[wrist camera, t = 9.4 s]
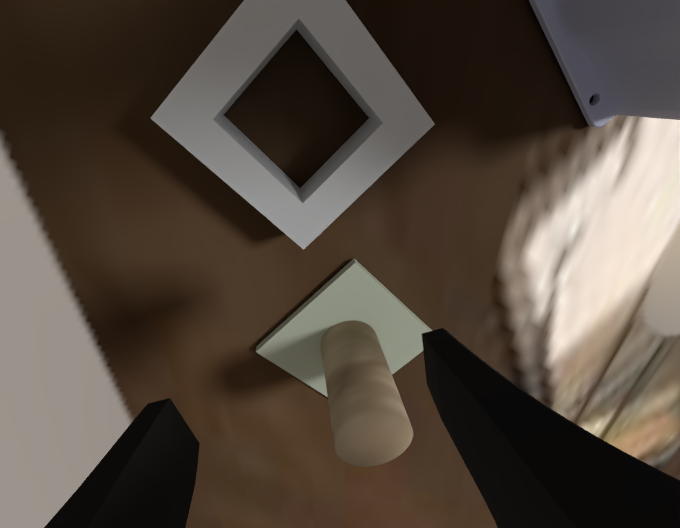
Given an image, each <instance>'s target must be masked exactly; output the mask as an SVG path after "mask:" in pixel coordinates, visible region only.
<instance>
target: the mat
mask: <svg viewBox="0 0 680 528" xmlns="http://www.w3.org/2000/svg"><path fill="white" fill-rule="evenodd" d="M351 320H355V321H361V322H364V323H366V324H368V325H370V326H371V327H372V328H373V329H374V331H375V332H376V335H377V337H378V340H379V343H380V345H381V348H382V351H383V353H384V356H385V358H386V361H387V364H388V366H389V369H390V371H391V374H394V373H395V372H396V371H397V370H399V369H400V368H401V367H403V366H404V365H405V364H406V363H408V362H409V361H410V360H412V359H413V358H414V357H415V356H417V355H418V354H419V353H421V352H422V351H423V342H422V333H426V332H430V331H432V330H431V329H430V328H429V327H428V326H427V325H426V324H425V323H424V322H422V321H421V320H420V319H419V318H418V317H417V316H416V315H415V314H414V313H413V312H412V311H411V310H409V309H408V308H407V307H406V306H405V305H404V304H403V303H402V302H401V301H400V300H399V299H398V298H396V297H395V296H394V295H393V294H392V293H391V292H390V291H389V290H388V289H387V288H386V287H384V286H383V285H382V284H381V283H380V282H379V281H378V280H377V279H376V278H375V277H374V276H373V275H371V274H370V273H369V272H368V271H367V270H366V269H365V268H364V267H363V266H362V265H361V264H360V263H358V262H357V261H356V260H355V259H352V260H351V261H350V262H349V263H348V264H347V265H346V266H345V267H344V268H342V269H341V270H340V271H339V272H338V273H337V274H336V275H335V276H334V277H333V278H331V279H330V280H329V281H328V282H327V283H326V284H325V285H324V286H323V287H321V288H320V289H319V290H318V291H317V292H316V293H315V294H314V295H313V296H312V297H310V298H309V299H308V300H307V301H306V302H305V303H304V304H303V305H302V306H300V307H299V308H298V309H297V310H296V311H295V312H294V313H293V314H292V315H290V316H289V317H288V318H287V319H286V320H285V321H284V322H283V323H282V324H281V325H279V326H278V327H277V328H276V329H275V330H274V331H273V332H272V333H271V334H269V335H268V336H267V337H266V338H265V339H264V340H263V341H262V342H261V343H260V344H258V345H257V346H256V353H258V354H260V355H261V356H263V357H264V358H266V359H268V360H269V361H271V362H272V363H274V364H276V365H277V366H279V367H280V368H282V369H283V370H285V371H287V372H288V373H290V374H291V375H293V376H295V377H296V378H298V379H299V380H301V381H303V382H304V383H306V384H307V385H309V386H311V387H312V388H314V389H315V390H317V391H318V392H320V393H322V394H323V395H325V396H326V397H328V395H327V388H326V382H325V375H324V368H323V361H322V354H321V340H322V338H323V336H324V334H325V333H326V332H327V331H328V330H329V329H330V328H331V327H333V326H334V325H336V324H338V323H341V322H344V321H351Z"/></svg>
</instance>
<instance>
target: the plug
mask: <svg viewBox="0 0 680 528" xmlns="http://www.w3.org/2000/svg"><path fill="white" fill-rule="evenodd" d="M321 354H322V361H323V368H324V375H325V382H326V388H327V395H328V402H329V409H330V416H331V423H332V429H333V436H334V443H335V450H336V453H337V455H338V456H339V458H340V459H341V460H343V461H344V462H346V463H348V464H351V465H354V466H361V467H367V466H375V465H380V464H383V463H386V462H388V461H391V460H393V459H394V458H396V457H398V456H399V455H400V454H402V453H403V452H404V451H405V450H406V449H407V448H408V446H409V445H410V443H411V441H412V438H413V430H412V427H411V424H410V421H409V419H408V416H407V413H406V411H405V408H404V406H403V403H402V400H401V398H400V395H399V392H398V390H397V387H396V385H395V382H394V379H393V377H392V374H391V371H390V369H389V366H388V364H387V361H386V358H385V356H384V353H383V351H382V348H381V345H380V343H379V340H378V337H377V335H376V332H375V331H374V329H373V328H372V327H371V326H370V325H368V324H366V323H364V322H361V321H355V320H351V321H344V322H341V323H338V324H336V325H334V326H333V327H331V328H330V329H329V330H328V331H327V332H326V333H325V334H324V336H323V338H322V340H321Z"/></svg>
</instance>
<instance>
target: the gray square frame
mask: <svg viewBox="0 0 680 528" xmlns="http://www.w3.org/2000/svg"><path fill="white" fill-rule="evenodd" d="M296 30H297V31H298V32H299V33H300V34H301V36H302V37H303V38H304V39H305V40H306V42H307V43H308V44H309V45H310V47H311V48H312V49H313V50H314V51H315V53H316V54H317V55H318V56H319V57H320V59H321V60H322V61H323V62H324V64H325V65H326V66H327V67H328V68H329V70H330V71H331V72H332V73H333V75H334V76H335V77H336V78H337V79H338V81H339V82H340V83H341V84H342V86H343V87H344V88H345V89H346V90H347V92H348V93H349V94H350V95H351V97H352V98H353V99H354V100H355V101H356V103H357V104H358V105H359V106H360V108H361V109H362V110H363V111H364V112H365V114H366V115H367V116H368V117H369V119H368V120H367V121H366V122H365V123H364V124H363V125H362V126H361V127H360V128H359V129H358V130H357V131H356V132H355V133H354V134H353V135H352V136H351V137H350V138H349V139H348V140H347V141H346V142H345V143H344V144H343V145H342V146H341V147H340V148H339V149H338V150H337V151H336V152H335V153H334V154H333V155H332V156H331V157H330V158H329V159H328V160H327V161H326V162H325V163H324V164H323V165H322V166H321V168H320V169H319V170H318V171H317V172H316V173H315V174H314V175H313V176H312V177H311V178H310V179H309V180H308V181H307V182H306V183H305V184H304V185H303V186H302V187H301V188H300V187H299V186H297V185H296V184H295V183H294V182H293V181H292V180H291V179H290V178H289V177H288V176H287V175H286V174H285V173H284V172H283V171H282V170H281V169H280V168H279V167H278V166H277V165H276V164H275V163H273V162H272V161H271V160H270V159H269V158H268V157H267V156H266V155H265V154H264V153H263V152H262V151H261V150H260V149H259V148H258V147H257V146H256V145H255V144H254V143H253V142H252V141H250V140H249V139H248V138H247V137H246V136H245V135H244V134H243V133H242V132H241V131H240V130H239V129H238V128H237V127H236V126H235V125H234V124H233V123H232V122H231V121H230V120H229V119H227V118H226V117H225V116H224V114H225V113H226V111H227V110H228V109H229V108H230V107H231V106H232V104H233V103H234V102H235V101H236V100H237V99H238V97H239V96H240V95H241V94H242V93H243V92H244V90H245V89H246V88H247V87H248V86H249V85H250V83H251V82H252V81H253V80H254V79H255V78H256V76H257V75H258V74H259V73H260V72H261V70H262V69H263V68H264V67H265V66H266V65H267V63H268V62H269V61H270V60H271V59H272V58H273V56H274V55H275V54H276V53H277V52H278V51H279V49H280V48H281V47H282V46H283V45H284V44H285V42H286V41H287V40H288V39H289V38H290V37H291V35H292V34H293V33H294V32H295V31H296ZM151 119H152V120H153V121H154V122H155V123H156V124H158V125H159V126H160V127H161V128H162V129H163V130H165V131H166V132H167V133H168V134H169V135H170V136H172V137H173V138H174V139H175V140H176V141H177V142H179V143H180V144H181V145H182V146H183V147H184V148H186V149H187V150H188V151H189V152H190V153H191V154H193V155H194V156H195V157H196V158H197V159H198V160H200V161H201V162H202V163H203V164H204V165H205V166H207V167H208V168H209V169H210V170H211V171H212V172H214V173H215V174H216V175H217V176H218V177H219V178H221V179H222V180H223V181H224V182H225V183H226V184H228V185H229V186H230V187H231V188H232V189H233V190H235V191H236V192H237V193H238V194H239V195H240V196H242V197H243V198H244V199H245V200H246V201H247V202H249V203H250V204H251V205H252V206H253V207H254V208H256V209H257V210H258V211H259V212H260V213H261V214H263V215H264V216H265V217H266V218H267V219H268V220H270V221H271V222H272V223H273V224H274V225H275V226H277V227H278V228H279V229H280V230H281V231H282V232H284V233H285V234H286V235H287V236H288V237H289V238H291V239H292V240H293V241H294V242H295V243H296V244H298V245H299V246H300V247H301V248H302V249H303V250H304V249H305V248H306V247H307V246H308V245H309V244H310V243H311V242H312V241H313V240H314V239H315V238H316V237H317V236H318V235H319V234H320V233H322V232H323V231H324V230H325V229H326V228H327V227H328V226H329V225H330V224H331V223H332V222H333V221H334V220H335V219H336V218H337V217H338V216H339V215H340V214H341V213H342V212H344V211H345V210H346V209H347V208H348V207H349V206H350V205H351V204H352V203H353V202H354V201H355V200H356V199H357V198H358V197H359V196H360V195H361V194H362V193H363V192H364V191H366V190H367V189H368V188H369V187H370V186H371V185H372V184H373V183H374V182H375V181H376V180H377V179H378V178H379V177H380V176H381V175H382V174H383V173H384V172H385V171H386V170H388V169H389V168H390V167H391V166H392V165H393V164H394V163H395V162H396V161H397V160H398V159H399V158H400V157H401V156H402V155H403V154H404V153H405V152H406V151H407V150H408V149H410V148H411V147H412V146H413V145H414V144H415V143H416V142H417V141H418V140H419V139H420V138H421V137H422V136H423V135H424V134H425V133H426V132H427V131H428V130H429V129H430V128H431V127H433V126H434V125H435V123H434V122H433V121H432V119H431V118H430V117H429V115H428V114H427V112H426V111H425V110H424V108H423V107H422V105H421V104H420V103H419V101H418V100H417V99H416V97H415V96H414V94H413V93H412V92H411V90H410V89H409V87H408V86H407V85H406V83H405V82H404V81H403V79H402V78H401V76H400V75H399V74H398V72H397V71H396V69H395V68H394V67H393V65H392V64H391V62H390V61H389V60H388V58H387V57H386V56H385V54H384V53H383V51H382V50H381V49H380V47H379V46H378V44H377V43H376V42H375V40H374V39H373V38H372V36H371V35H370V33H369V32H368V31H367V29H366V28H365V26H364V25H363V24H362V22H361V21H360V20H359V18H358V17H357V15H356V14H355V13H354V11H353V10H352V8H351V7H350V6H349V4H348V3H347V2H346V0H244V1H243V2H242V3H241V5H240V6H239V7H238V8H237V10H236V11H235V12H234V13H233V15H232V16H231V17H230V19H229V20H228V21H227V22H226V24H225V25H224V26H223V27H222V29H221V30H220V31H219V32H218V34H217V35H216V36H215V37H214V39H213V40H212V41H211V42H210V44H209V45H208V46H207V47H206V49H205V50H204V51H203V52H202V54H201V55H200V56H199V58H198V59H197V60H196V61H195V63H194V64H193V65H192V66H191V68H190V69H189V70H188V71H187V73H186V74H185V75H184V76H183V78H182V79H181V80H180V81H179V83H178V84H177V85H176V86H175V88H174V89H173V90H172V91H171V93H170V94H169V95H168V97H167V98H166V99H165V100H164V102H163V103H162V104H161V105H160V107H159V108H158V109H157V110H156V112H155V113H154V114H153V115H152V117H151Z"/></svg>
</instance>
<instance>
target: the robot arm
mask: <svg viewBox="0 0 680 528" xmlns="http://www.w3.org/2000/svg"><path fill="white" fill-rule="evenodd" d="M529 2H530V4H531V6H532V8H533V10H534V12H535V15H536V17H537V19H538V21H539V23H540V25H541V27H542V29H543V31H544V33H545V36H546V38H547V40H548V42H549V44H550V46H551V48H552V50H553V52H554V54H555V57H556V59H557V61H558V63H559V65H560V67H561V69H562V71H563V73H564V75H565V78H566V80H567V82H568V84H569V86H570V88H571V90H572V92H573V94H574V96H575V98H576V101H577V103H578V105H579V107H580V109H581V111H582V113H583V115H584V117H585V119H586V122H587V124H588V125H589V126H592V127H601V126H603V125H605V124H606V123H607V122H608V121H610V120H611V119H612V118H613V117H614V116H616V115H625V116H638V117H650V118H663V119H675V120H680V0H529ZM592 95H593V101H592V102H591V103H589V100H590V98H591V96H592ZM422 342H423V351H424V360H425V370H426V379H427V385H428V387H429V390H430V392H431V395H432V397H433V400H434V402H435V405H436V407H437V410H438V412H439V414H440V417H441V419H442V421H443V423H444V425H445V427H446V429H447V430H448V432H449V434H450V436H451V438H452V440H453V442H454V444H455V446H456V447H457V449H458V451H459V453H460V455H461V457H462V459H463V460H464V462H465V464H466V466H467V468H468V470H469V472H470V473H471V475H472V477H473V479H474V481H475V483H476V485H477V487H478V488H479V490H480V492H481V494H482V496H483V498H484V500H485V502H486V504H487V506H488V508H489V510H490V512H491V514H492V516H493V518H494V520H495V522H496V525H497V527H498V528H680V480H678V479H676V478H674V477H672V476H670V475H668V474H666V473H664V472H662V471H660V470H658V469H656V468H654V467H652V466H650V465H648V464H646V463H644V462H642V461H640V460H638V459H636V458H634V457H632V456H630V455H629V454H627V453H625V452H623V451H621V450H620V449H618V448H616V447H614V446H612V445H611V444H609V443H607V442H605V441H603V440H602V439H600V438H598V437H596V436H595V435H593V434H591V433H589V432H588V431H586V430H584V429H583V428H581V427H579V426H578V425H576V424H574V423H573V422H571V421H569V420H568V419H566V418H565V417H563V416H561V415H560V414H558V413H557V412H555V411H553V410H552V409H550V408H549V407H547V406H546V405H544V404H543V403H541V402H540V401H538V400H537V399H535V398H534V397H532V396H531V395H529V394H528V393H526V392H525V391H523V390H522V389H521V388H519V387H518V386H516V385H515V384H514V383H512V382H511V381H509V380H508V379H507V378H505V377H504V376H503V375H501V374H500V373H499V372H497V371H496V370H495V369H493V368H492V367H491V366H489V365H488V364H487V363H485V362H484V361H483V360H481V359H480V358H479V357H478V356H476V355H475V354H474V353H473V352H471V351H470V350H469V349H468V348H467V347H465V346H464V345H463V344H462V343H460V342H459V341H458V340H457V339H456V338H454V337H453V336H452V335H451V334H450V333H449V332H447V331H446V330H445V329H443V328H441V329H437V330H433V331H430V332H426V333H422ZM198 453H199V442H198V440H197V439H196V437H195V436H194V434H193V433H192V431H191V430H190V428H189V427H188V425H187V424H186V422H185V421H184V419H183V418H182V416H181V414H180V413H179V411H178V410H177V408H176V407H175V405H174V404H173V402H172V401H171V399H170V398H169V399H165V400H161V401H157V402H153V403H149V404H147V406H146V407H145V408H144V409H143V410H142V411H141V412H140V414H139V415H138V416H137V417H136V418H135V420H134V421H133V422H132V423H131V424H130V426H129V427H128V428H127V429H126V431H125V432H124V433H123V434H122V436H121V437H120V438H119V439H118V441H117V442H116V443H115V444H114V445H113V447H112V448H111V449H110V450H109V452H108V453H107V454H106V455H105V456H104V458H103V459H102V460H101V461H100V463H99V464H98V465H97V466H96V467H95V469H94V470H93V471H92V472H91V474H90V475H89V476H88V477H87V478H86V480H85V481H84V482H83V483H82V485H81V486H80V487H79V488H78V489H77V491H76V492H75V493H74V494H73V495H72V496H71V497H70V499H69V500H68V501H67V502H66V503H65V504H64V506H63V507H62V508H61V509H60V510H59V511H58V513H57V514H56V515H55V516H54V517H53V518H52V519H51V520H50V522H49V523H48V524H47V525H46V526H45V527H44V528H185V526H186V522H187V518H188V513H189V509H190V504H191V500H192V495H193V491H194V486H195V480H196V472H197V464H198Z"/></svg>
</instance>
